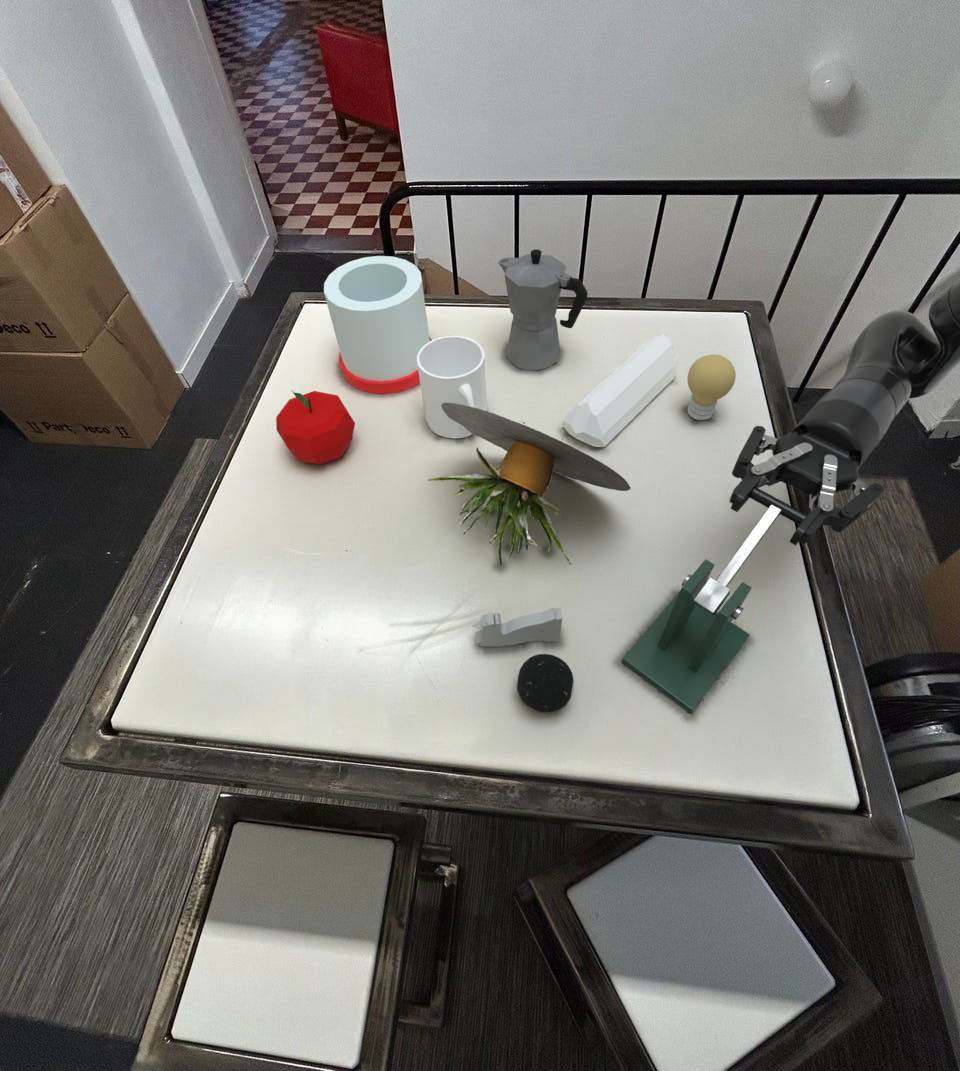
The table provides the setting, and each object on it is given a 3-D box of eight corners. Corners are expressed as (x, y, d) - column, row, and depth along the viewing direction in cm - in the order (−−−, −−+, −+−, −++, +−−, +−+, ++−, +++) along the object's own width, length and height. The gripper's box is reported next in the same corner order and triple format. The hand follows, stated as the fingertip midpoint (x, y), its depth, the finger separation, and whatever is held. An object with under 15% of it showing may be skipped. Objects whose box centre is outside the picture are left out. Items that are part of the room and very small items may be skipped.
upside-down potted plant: (435, 509, 93) (354, 513, 69) (485, 403, 90) (419, 368, 66) (581, 590, 87) (548, 624, 63) (641, 479, 84) (629, 471, 60)
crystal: (609, 445, 84) (697, 358, 94) (574, 406, 84) (666, 323, 94) (582, 465, 91) (667, 381, 101) (550, 429, 91) (638, 349, 101)
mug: (461, 390, 98) (456, 327, 89) (510, 429, 92) (510, 366, 83) (414, 417, 95) (403, 355, 86) (461, 459, 89) (455, 397, 80)
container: (455, 354, 104) (447, 273, 92) (392, 407, 97) (375, 326, 85) (385, 323, 110) (370, 243, 98) (321, 370, 103) (297, 291, 91)
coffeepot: (484, 356, 103) (480, 253, 89) (515, 327, 108) (515, 225, 93) (564, 388, 98) (573, 283, 83) (592, 356, 102) (606, 252, 87)
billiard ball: (522, 664, 70) (522, 640, 65) (574, 674, 69) (579, 650, 64) (512, 714, 66) (512, 693, 61) (567, 725, 65) (571, 705, 60)
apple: (373, 443, 92) (359, 391, 84) (319, 485, 87) (299, 434, 79) (326, 414, 96) (310, 361, 88) (273, 452, 92) (250, 401, 84)
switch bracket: (679, 594, 74) (708, 525, 63) (747, 639, 70) (790, 573, 59) (620, 662, 69) (641, 600, 58) (690, 714, 65) (726, 658, 54)
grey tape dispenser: (558, 642, 71) (473, 649, 71) (557, 631, 72) (472, 638, 72) (562, 618, 67) (471, 625, 66) (560, 607, 67) (470, 614, 67)
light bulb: (689, 432, 90) (706, 378, 82) (670, 405, 94) (685, 350, 86) (729, 423, 91) (749, 369, 83) (708, 396, 95) (726, 341, 87)
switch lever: (755, 490, 62) (756, 483, 60) (806, 518, 60) (809, 512, 58) (680, 594, 63) (678, 590, 60) (728, 626, 60) (728, 623, 58)
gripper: (791, 372, 66) (708, 459, 59) (930, 433, 60) (856, 538, 53) (768, 424, 72) (690, 508, 65) (892, 484, 66) (821, 584, 59)
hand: (765, 521), depth 59 cm, fingers closed on switch lever, 5 cm apart
